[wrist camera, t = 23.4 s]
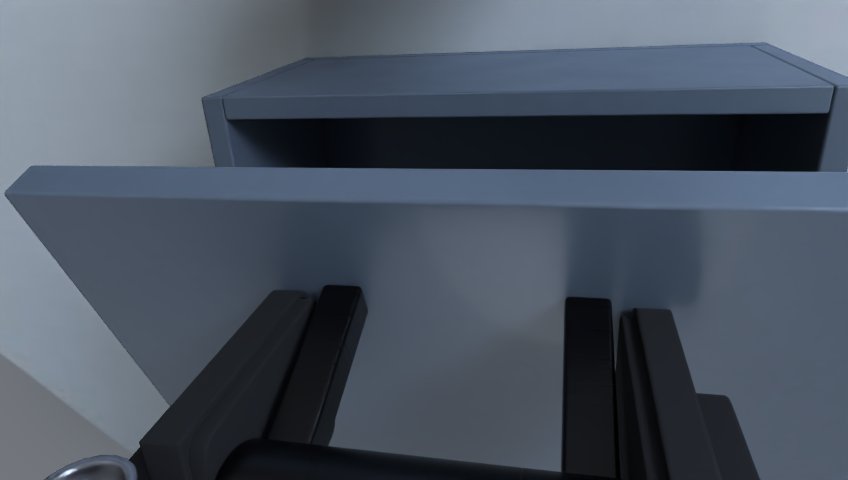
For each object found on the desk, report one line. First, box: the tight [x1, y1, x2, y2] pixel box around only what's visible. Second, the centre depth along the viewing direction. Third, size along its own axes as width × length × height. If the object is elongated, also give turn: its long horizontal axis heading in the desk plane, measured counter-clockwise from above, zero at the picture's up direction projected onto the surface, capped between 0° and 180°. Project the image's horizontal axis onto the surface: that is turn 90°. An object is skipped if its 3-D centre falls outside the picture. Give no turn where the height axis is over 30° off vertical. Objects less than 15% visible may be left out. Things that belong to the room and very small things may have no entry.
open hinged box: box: [202, 43, 848, 172], centre depth 20 cm, size 15×15×7 cm
